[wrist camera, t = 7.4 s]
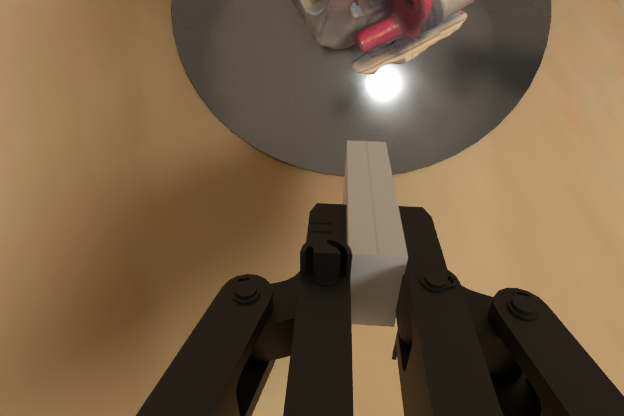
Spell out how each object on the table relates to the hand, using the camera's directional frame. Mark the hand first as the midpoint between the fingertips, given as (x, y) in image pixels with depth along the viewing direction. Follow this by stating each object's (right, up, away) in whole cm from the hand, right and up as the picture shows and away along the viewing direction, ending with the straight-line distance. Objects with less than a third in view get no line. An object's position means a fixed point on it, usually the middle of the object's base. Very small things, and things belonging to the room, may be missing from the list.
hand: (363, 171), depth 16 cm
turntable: (+1, +12, +9) cm, 15 cm away
